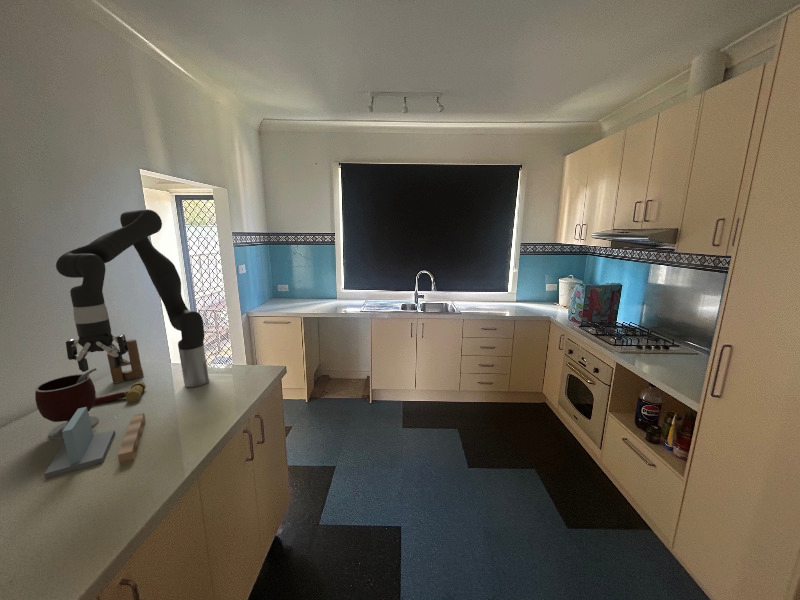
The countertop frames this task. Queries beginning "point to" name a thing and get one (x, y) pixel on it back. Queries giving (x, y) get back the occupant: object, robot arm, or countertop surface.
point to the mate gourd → (65, 399)
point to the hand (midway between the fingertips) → (102, 369)
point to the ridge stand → (80, 446)
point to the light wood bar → (131, 439)
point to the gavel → (124, 394)
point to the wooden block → (134, 361)
